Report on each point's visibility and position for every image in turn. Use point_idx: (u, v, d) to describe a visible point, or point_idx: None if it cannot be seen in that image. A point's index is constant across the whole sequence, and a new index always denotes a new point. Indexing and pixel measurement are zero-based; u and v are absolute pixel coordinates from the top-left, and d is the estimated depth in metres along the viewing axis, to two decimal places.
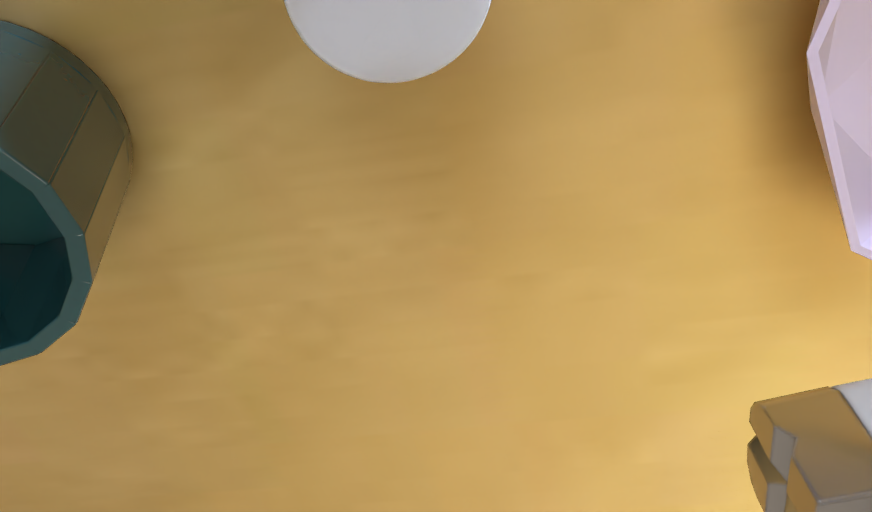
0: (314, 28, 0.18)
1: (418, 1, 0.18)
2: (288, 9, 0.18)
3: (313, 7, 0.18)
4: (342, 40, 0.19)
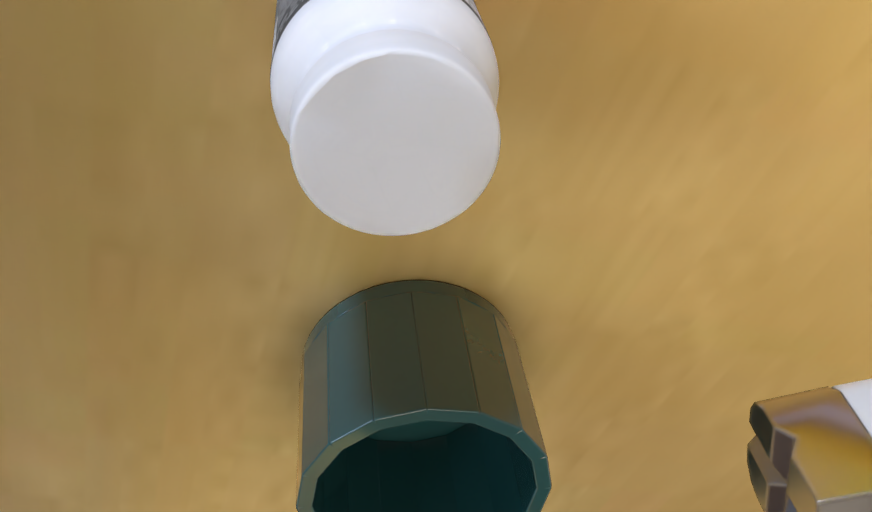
0: (398, 223, 0.19)
1: (425, 134, 0.18)
2: (371, 233, 0.20)
3: (380, 215, 0.19)
4: (421, 208, 0.19)
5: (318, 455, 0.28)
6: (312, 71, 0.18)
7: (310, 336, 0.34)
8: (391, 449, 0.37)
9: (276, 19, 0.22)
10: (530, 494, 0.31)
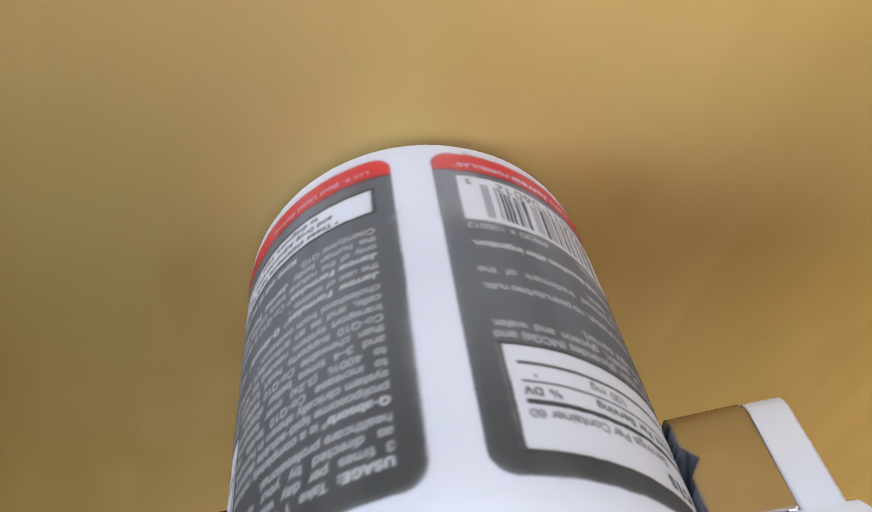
0: None
1: None
2: None
3: None
4: None
5: None
6: None
7: None
8: None
9: (236, 440, 0.10)
10: None
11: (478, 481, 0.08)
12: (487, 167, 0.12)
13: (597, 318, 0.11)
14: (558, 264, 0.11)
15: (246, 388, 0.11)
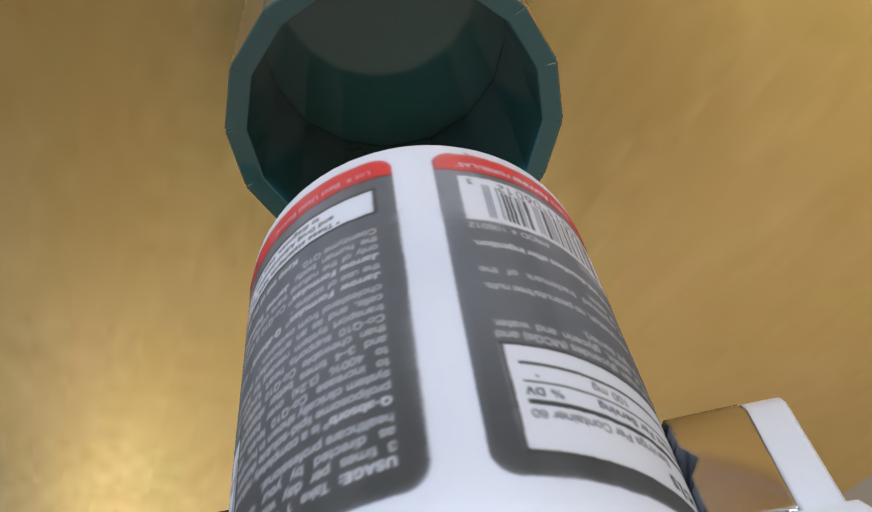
0: None
1: None
2: None
3: None
4: None
5: (250, 32, 0.21)
6: None
7: None
8: (361, 149, 0.30)
9: (238, 440, 0.10)
10: (534, 136, 0.24)
11: (479, 481, 0.08)
12: (488, 167, 0.12)
13: (599, 318, 0.11)
14: (560, 264, 0.11)
15: (247, 388, 0.11)
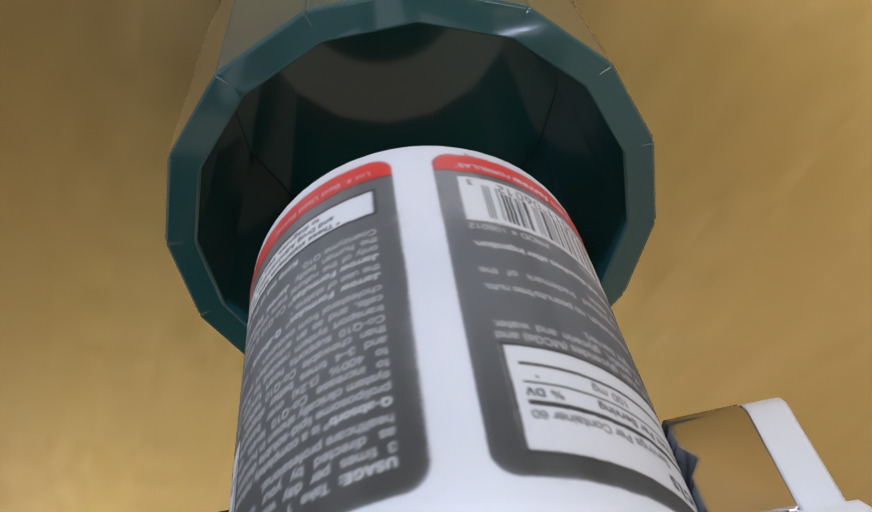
0: None
1: None
2: None
3: None
4: None
5: (196, 106, 0.14)
6: None
7: (221, 1, 0.20)
8: None
9: (238, 440, 0.10)
10: (613, 241, 0.17)
11: (479, 482, 0.08)
12: (488, 167, 0.12)
13: (599, 319, 0.11)
14: (560, 264, 0.11)
15: (248, 389, 0.11)
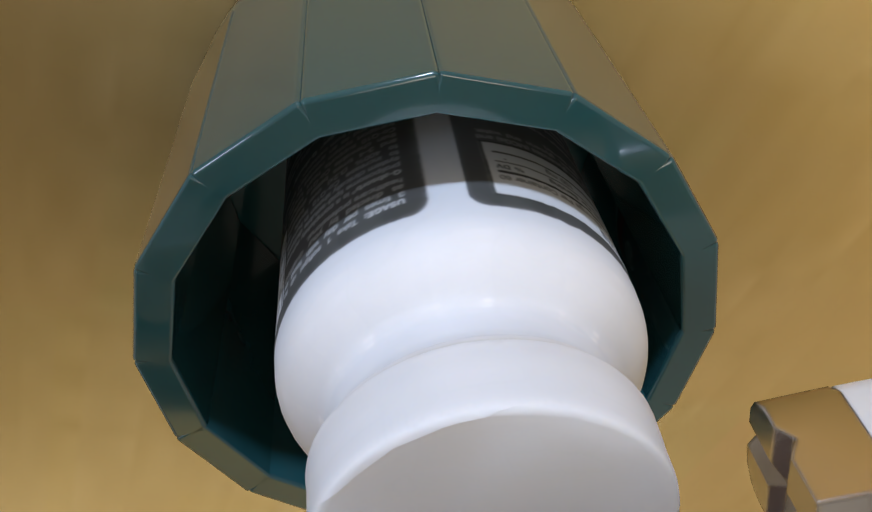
0: None
1: None
2: None
3: None
4: None
5: (167, 211, 0.11)
6: (348, 414, 0.10)
7: (205, 56, 0.17)
8: None
9: (284, 232, 0.14)
10: (663, 349, 0.14)
11: (461, 207, 0.11)
12: None
13: (556, 144, 0.14)
14: None
15: (291, 198, 0.14)
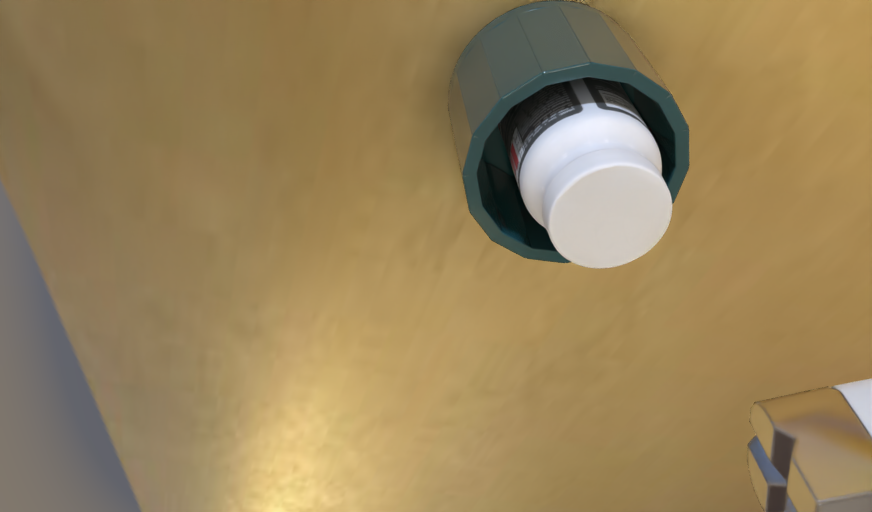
0: (604, 260, 0.32)
1: (628, 209, 0.31)
2: (587, 266, 0.32)
3: (594, 256, 0.32)
4: (619, 252, 0.32)
5: (489, 112, 0.32)
6: (564, 173, 0.30)
7: (460, 57, 0.38)
8: None
9: (514, 128, 0.34)
10: (668, 177, 0.35)
11: (595, 110, 0.32)
12: None
13: (624, 93, 0.35)
14: None
15: (514, 115, 0.35)
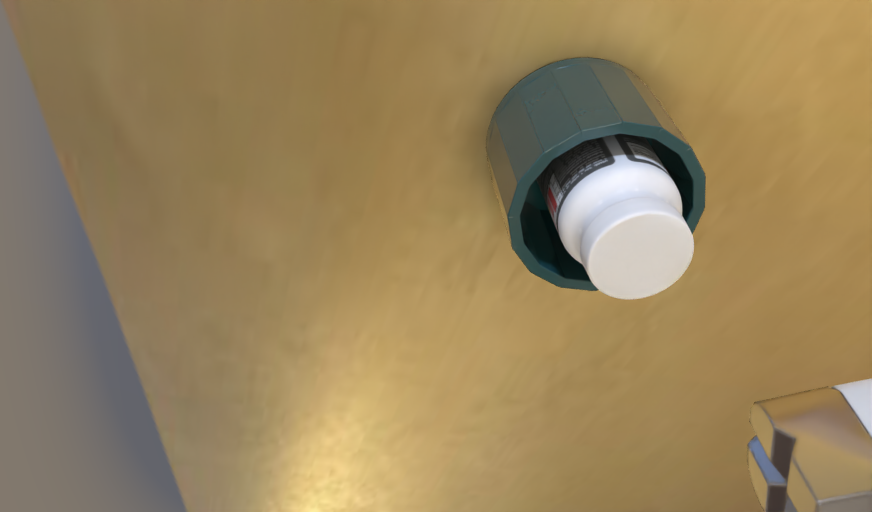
0: (634, 293, 0.37)
1: (656, 250, 0.35)
2: (619, 298, 0.37)
3: (625, 289, 0.36)
4: (647, 285, 0.36)
5: (533, 163, 0.36)
6: (601, 218, 0.35)
7: (499, 107, 0.42)
8: None
9: (551, 174, 0.39)
10: (686, 216, 0.39)
11: (626, 162, 0.36)
12: None
13: (647, 142, 0.39)
14: None
15: (551, 162, 0.39)
